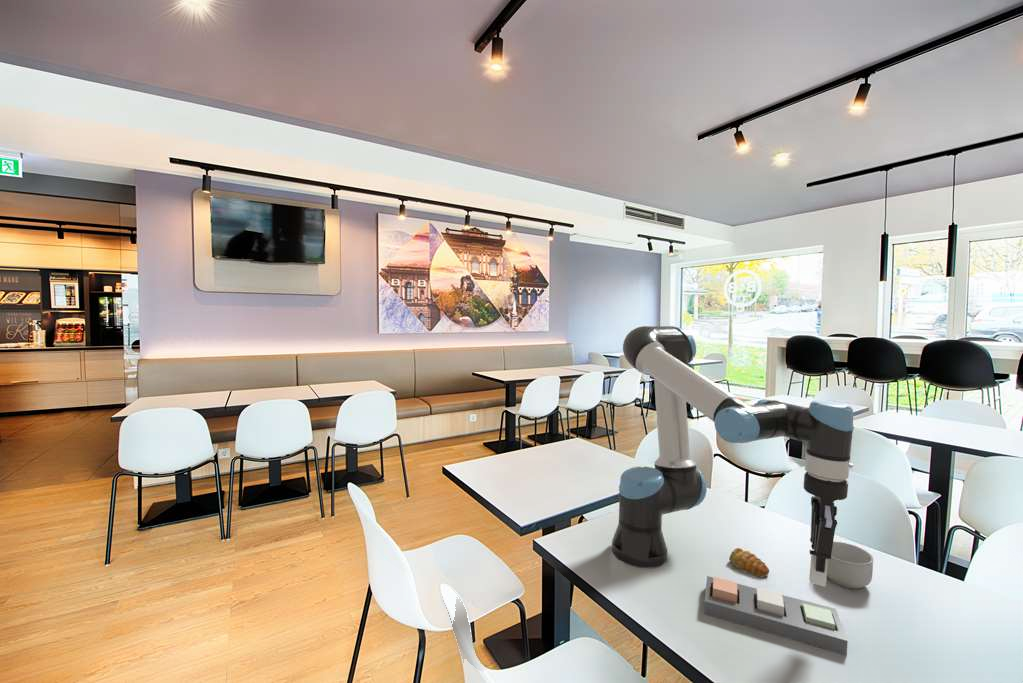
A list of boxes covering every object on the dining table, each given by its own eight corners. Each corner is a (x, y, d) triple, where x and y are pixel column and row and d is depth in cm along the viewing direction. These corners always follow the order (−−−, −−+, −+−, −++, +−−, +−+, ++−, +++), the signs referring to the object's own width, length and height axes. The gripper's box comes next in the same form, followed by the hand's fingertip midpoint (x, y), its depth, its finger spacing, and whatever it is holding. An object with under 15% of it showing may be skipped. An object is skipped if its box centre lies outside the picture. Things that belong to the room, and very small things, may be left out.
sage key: (805, 628, 92) (806, 616, 92) (802, 614, 97) (802, 603, 97) (834, 636, 90) (835, 624, 90) (829, 621, 95) (830, 610, 95)
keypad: (704, 613, 99) (704, 601, 98) (706, 587, 108) (707, 575, 108) (846, 655, 87) (847, 640, 87) (835, 621, 97) (835, 608, 97)
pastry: (774, 574, 115) (775, 560, 115) (759, 581, 112) (760, 567, 112) (741, 557, 123) (741, 544, 123) (725, 563, 120) (726, 550, 120)
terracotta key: (712, 598, 100) (712, 588, 100) (713, 586, 105) (713, 576, 105) (736, 605, 98) (737, 594, 98) (736, 593, 103) (737, 582, 103)
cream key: (757, 610, 96) (757, 599, 96) (756, 598, 101) (756, 587, 101) (783, 618, 94) (784, 606, 94) (781, 604, 99) (782, 594, 99)
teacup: (881, 597, 106) (883, 565, 105) (831, 591, 108) (833, 559, 108) (849, 565, 119) (851, 537, 119) (805, 560, 122) (807, 532, 121)
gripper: (856, 490, 84) (846, 606, 86) (841, 469, 96) (832, 572, 98) (809, 482, 88) (800, 594, 89) (800, 463, 99) (792, 562, 101)
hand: (817, 582), depth 94 cm, fingers closed
